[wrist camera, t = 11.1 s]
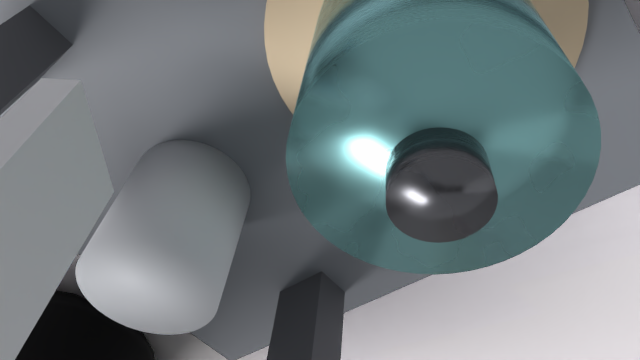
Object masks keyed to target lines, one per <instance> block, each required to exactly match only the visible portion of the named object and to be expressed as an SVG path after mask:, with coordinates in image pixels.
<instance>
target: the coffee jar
mask: <svg viewBox="0 0 640 360" xmlns="http://www.w3.org/2000/svg"><path fill="white" fill-rule="evenodd" d="M15 360H154V352H153V350H152V348H151V347H150V345H149V343H148V341H147V340H146V338H145V336H144V335H143V334H142V333H141V332H140V331H139V330H135V329H132V328H129V327H127V326H124V325H122V324H120V323H118V322H116V321H114V320H112V319H110V318H109V317H107V316H105V315H104V314H103V313H101V312H100V311H98V310H97V309H96V308H95V307H94V306H93V305H92V304H91V303H90V302H89V301H88V300H87V299H86V298H83V297H81V296H78V295H75V294H71V293H65V292H60V291H55V293H54V294H53V296H52V298H51V299H50V301H49V303H48V304H47V306H46V308H45V309H44V311H43V313H42V315H41V316H40V318H39V320H38V321H37V323H36V325H35V326H34V328H33V330H32V332H31V333H30V335H29V337H28V338H27V340H26V342H25V343H24V345H23V347H22V348H21V350H20V352H19V354H18V355H17V357H16V359H15Z"/></svg>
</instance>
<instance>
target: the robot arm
mask: <svg viewBox="0 0 640 360" xmlns="http://www.w3.org/2000/svg"><path fill="white" fill-rule="evenodd" d="M113 193H114V189H113V186H112V183H111V179H110V176H109V173H108V169H107V166H106V163H105V159H104V156H103V153H102V149H101V146H100V143H99V139H98V136H97V133H96V129H95V126H94V123H93V119H92V116H91V113H90V109H89V106H88V103H87V100H86V96H85V93H84V90H83V86H82V83H81V80H69V79H48V78H41V79H40V80H39V81H38V82H37V83H36V84H35V85H34V86H33V87H32V88H31V89H30V90H29V91H28V92H27V93H26V94H25V95H24V96H23V97H22V98H21V99H20V100H19V101H18V102H16V103H15V104H14V105H13V106H12V107H11V108H10V109H9V110H8V111H7V112H6V113H5V114H4V115H3V116H2V117H1V118H0V360H15V359H16V357H17V355H18V354H19V352H20V350H21V348H22V347H23V345H24V343H25V342H26V340H27V338H28V337H29V335H30V333H31V332H32V330H33V328H34V326H35V325H36V323H37V321H38V320H39V318H40V316H41V315H42V313H43V311H44V309H45V308H46V306H47V304H48V303H49V301H50V299H51V298H52V296H53V294H54V293H55V291H56V289H57V287H58V286H59V284H60V282H61V281H62V279H63V277H64V276H65V274H66V272H67V271H68V269H69V267H70V265H71V264H72V262H73V260H74V259H75V257H76V255H77V254H78V252H79V250H80V249H81V247H82V245H83V243H84V242H85V240H86V238H87V237H88V235H89V233H90V232H91V230H92V228H93V226H94V225H95V223H96V221H97V220H98V218H99V216H100V215H101V213H102V211H103V210H104V208H105V206H106V204H107V203H108V201H109V199H110V198H111V196H112V194H113Z"/></svg>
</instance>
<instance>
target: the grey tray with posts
mask: <svg viewBox="0 0 640 360" xmlns="http://www.w3.org/2000/svg"><path fill="white" fill-rule="evenodd" d="M530 1H531V2H532V4H533V6H534V7H535V9H536V10H537V12H538V13H539V15H540V16H541V18H542V19H543V21H544V23H545V24H546V26H547V27H548V29H549V30H550V32H551V33H552V35H553V36H554V38H555V39H556V41H557V43H558V44H559V46H560V47H561V49H562V50H563V52H564V53H565V55H566V56H567V58H568V60H569V61H570V63H571V64H572V66H573V67H574V69H575V70H576V72H577V73H578V75H579V77H580V78H581V80H582V81H583V83H584V85H585V86H586V88H587V89H588V91H589V93H590V94H591V97H592V99H593V102H594V104H595V107H596V109H597V112H598V117H599V122H600V127H601V151H600V157H599V163H598V167H597V170H596V173H595V176H594V179H593V181H592V183H591V185H590V187H589V189H588V191H587V193H586V195H585V197H584V198H583V200H582V201H581V202H580V204H579V205H578V207H577V208H576V210H575V211H574V212H573V213H575V212H578V211H580V210H582V209H585V208H587V207H589V206H591V205H594V204H596V203H598V202H601V201H603V200H605V199H608V198H610V197H612V196H615V195H617V194H619V193H621V192H624V191H626V190H628V189H631V188H633V187H635V186H638V185H640V33H639V31H638V29H637V27H636V25H635V23H634V21H633V18H632V16H631V14H630V12H629V10H628V8H627V6H626V4H625V2H624V0H530ZM323 2H324V0H0V118H1V117H2V116H3V115H4V114H5V113H6V112H7V111H8V110H9V109H10V108H11V107H12V106H13V105H14V104H15V103H16V102H18V101H19V100H20V99H21V98H22V97H23V96H24V95H25V94H26V93H27V92H28V91H29V90H30V89H31V88H32V87H33V86H34V85H35V84H36V83H37V82H38V81H39V80H40V79H41V78H48V79H69V80H81V83H82V86H83V90H84V93H85V96H86V100H87V103H88V106H89V109H90V113H91V116H92V119H93V123H94V126H95V129H96V133H97V136H98V139H99V143H100V146H101V149H102V153H103V156H104V159H105V163H106V166H107V169H108V173H109V176H110V179H111V183H112V186H113V189H114V193H113V194H112V196H111V198H110V199H109V201H108V203H107V204H106V206H105V208H104V210H103V211H102V213H101V215H100V216H99V218H98V220H97V221H96V223H95V225H94V226H93V228H92V230H91V232H90V233H89V235H88V237H87V238H86V240H85V242H84V243H83V245H82V247H81V249H80V250H79V252H78V254H80V255H81V256H80V257H79V259H78V262H77V264H76V269H75V275H76V281H77V284H78V286H79V288H80V290H81V292H82V294H83V295H84V296H85V298H86V299H87V300H88V301H89V302H90V303H91V304H92V305H93V306H94V307H95V308H96V309H97V310H98V311H100V312H101V313H103V314H104V315H105V316H107V317H109V318H110V319H112V320H114V321H116V322H118V323H120V324H122V325H124V326H127V327H129V328H132V329H135V330H139V331H143V332H147V333H153V334H161V335H176V334H184V333H189V332H190V333H191V334H193V335H194V336H195V337H197V338H198V339H200V340H201V341H203V342H204V343H205V344H207V345H208V346H210V347H211V348H212V349H214V350H215V351H217V352H218V353H220V354H221V355H222V356H224V357H225V358H227V359H228V360H236V359H239V358H241V357H243V356H246V355H248V354H250V353H253V352H255V351H257V350H259V349H262V348H264V347H266V346H269V351H268V356H267V360H340V358H341V343H342V328H343V314H344V313H345V312H347V311H349V310H352V309H354V308H356V307H359V306H361V305H363V304H366V303H368V302H370V301H372V300H375V299H377V298H379V297H382V296H384V295H386V294H389V293H391V292H393V291H395V290H398V289H400V288H402V287H405V286H407V285H409V284H412V283H414V282H416V281H419V280H421V279H423V278H425V277H428V276H430V275H432V274H415V273H407V272H400V271H395V270H390V269H386V268H382V267H379V266H376V265H373V264H369V263H367V262H365V261H362V260H360V259H358V258H355V257H353V256H351V255H350V254H348V253H346V252H344V251H342V250H341V249H339V248H338V247H336V246H335V245H333V244H332V243H331V242H329V241H328V240H327V239H326V238H324V237H323V236H322V235H321V234H320V233H319V232H318V231H317V230H316V229H315V228H314V227H313V226H312V224H311V223H310V222H309V221H308V220H307V219H306V217H305V216H304V214H303V213H302V211H301V209H300V208H299V206H298V204H297V202H296V200H295V198H294V196H293V193H292V191H291V187H290V184H289V180H288V177H287V168H286V145H287V140H288V135H289V130H290V126H291V122H292V118H293V114H294V110H295V106H296V102H297V98H298V94H299V90H300V87H301V83H302V79H303V75H304V71H305V67H306V63H307V59H308V55H309V51H310V47H311V43H312V40H313V36H314V32H315V28H316V24H317V20H318V16H319V13H320V10H321V7H322V4H323ZM573 213H572V214H573Z"/></svg>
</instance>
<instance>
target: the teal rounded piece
mask: <svg viewBox="0 0 640 360" xmlns="http://www.w3.org/2000/svg"><path fill="white" fill-rule="evenodd" d="M600 151H601V127H600V122H599V117H598V112H597V109H596V107H595V104H594V102H593V99H592V97H591V94H590V93H589V91H588V89H587V88H586V86H585V85H584V83H583V81H582V80H581V78H580V77H579V75H578V73H577V72H576V70H575V69H574V67H573V66H572V64H571V63H570V61H569V60H568V58H567V56H566V55H565V53H564V52H563V50H562V49H561V47H560V46H559V44H558V43H557V41H556V39H555V38H554V36H553V35H552V33H551V32H550V30H549V29H548V27H547V26H546V24H545V23H544V21H543V19H542V18H541V16H540V15H539V13H538V12H537V10H536V9H535V7H534V6H533V4H532V2H531V1H530V0H324V2H323V4H322V7H321V10H320V13H319V16H318V20H317V24H316V28H315V32H314V36H313V40H312V43H311V47H310V51H309V55H308V59H307V63H306V67H305V71H304V75H303V79H302V83H301V87H300V90H299V94H298V98H297V102H296V106H295V110H294V114H293V118H292V122H291V126H290V130H289V135H288V140H287V145H286V168H287V177H288V180H289V184H290V187H291V191H292V193H293V196H294V198H295V200H296V202H297V204H298V206H299V208H300V209H301V211H302V213H303V214H304V216H305V217H306V219H307V220H308V221H309V222H310V223H311V224H312V226H313V227H314V228H315V229H316V230H317V231H318V232H319V233H320V234H321V235H322V236H323V237H324V238H326V239H327V240H328V241H329V242H331V243H332V244H333V245H335V246H336V247H338V248H339V249H341V250H342V251H344V252H346V253H348V254H350V255H351V256H353V257H355V258H358V259H360V260H362V261H365V262H367V263H369V264H373V265H376V266H379V267H382V268H386V269H390V270H395V271H400V272H407V273H415V274H449V273H458V272H465V271H471V270H475V269H479V268H483V267H487V266H490V265H493V264H496V263H499V262H502V261H505V260H507V259H510V258H512V257H514V256H516V255H519V254H521V253H522V252H524V251H526V250H528V249H530V248H531V247H533V246H535V245H537V244H538V243H539V242H541V241H542V240H544V239H545V238H546V237H548V236H549V235H551V234H552V233H553V232H554V231H555V230H556V229H557V228H559V227H560V226H561V225H562V224H563V223H564V222H565V221H566V220H567V219H568V218H569V216H570V215H571V214H572V213H573V212H574V211H575V210H576V208H577V207H578V205H579V204H580V202H581V201H582V200H583V198H584V197H585V195H586V193H587V191H588V189H589V187H590V185H591V183H592V181H593V179H594V176H595V173H596V170H597V167H598V163H599V157H600Z"/></svg>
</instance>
